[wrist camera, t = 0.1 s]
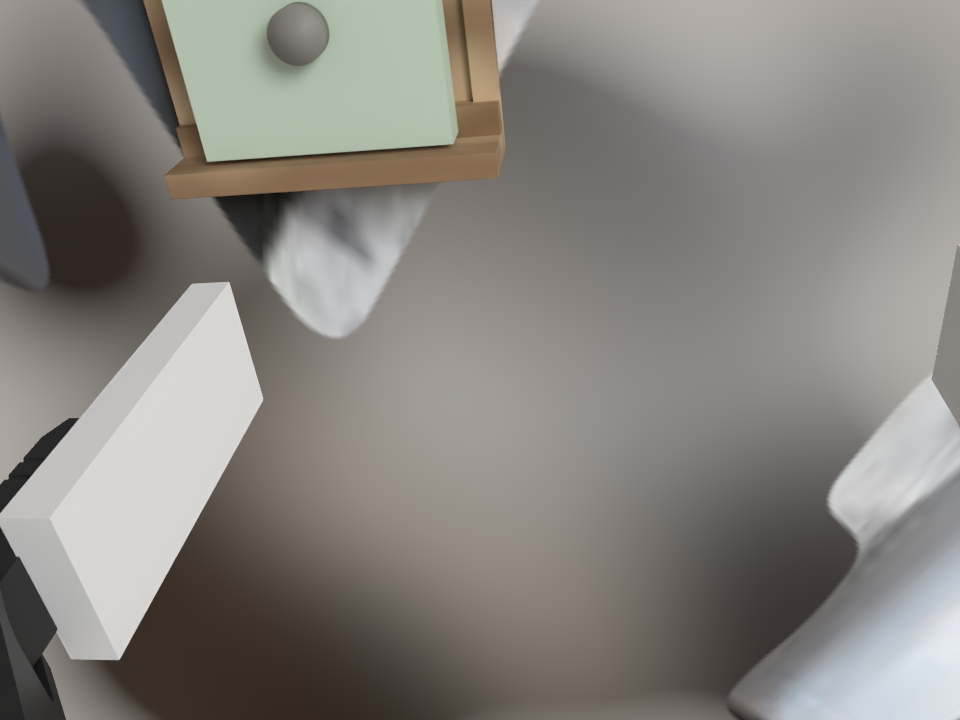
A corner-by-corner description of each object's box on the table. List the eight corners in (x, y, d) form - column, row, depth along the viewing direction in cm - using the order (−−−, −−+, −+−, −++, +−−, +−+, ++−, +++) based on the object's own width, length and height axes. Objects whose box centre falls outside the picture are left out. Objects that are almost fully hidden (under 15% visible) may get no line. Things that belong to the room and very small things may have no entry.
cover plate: (153, -99, 38) (121, -92, 35) (425, -132, 36) (413, -127, 33) (220, 149, 43) (197, 170, 41) (458, 131, 42) (449, 153, 39)
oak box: (114, -136, 38) (69, -129, 35) (474, -181, 36) (461, -180, 33) (202, 170, 46) (171, 199, 42) (505, 148, 43) (498, 178, 40)
